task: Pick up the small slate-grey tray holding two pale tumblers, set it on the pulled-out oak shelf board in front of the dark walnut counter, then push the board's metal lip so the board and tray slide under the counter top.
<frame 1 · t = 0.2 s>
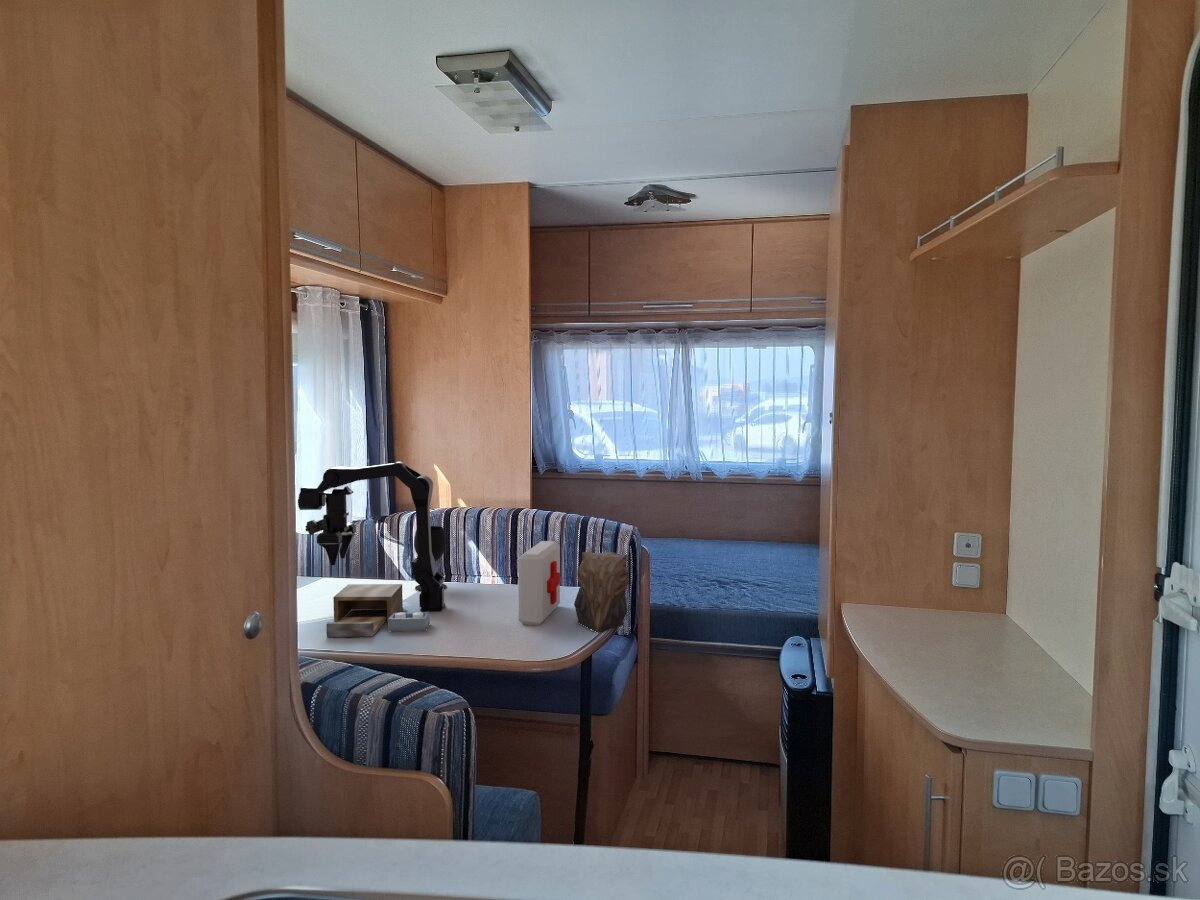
hand: (337, 561, 224), 14 cm above the table, tool pointing down, fingers open, 9 cm apart
owl: (599, 626, 210), on the table
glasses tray: (409, 628, 207), on the table
counter: (369, 615, 219), on the table
shelf board: (357, 621, 206), point 2 cm above the table, slide at 11.0 cm
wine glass: (430, 588, 250), on the table
first aid kit: (542, 615, 220), on the table
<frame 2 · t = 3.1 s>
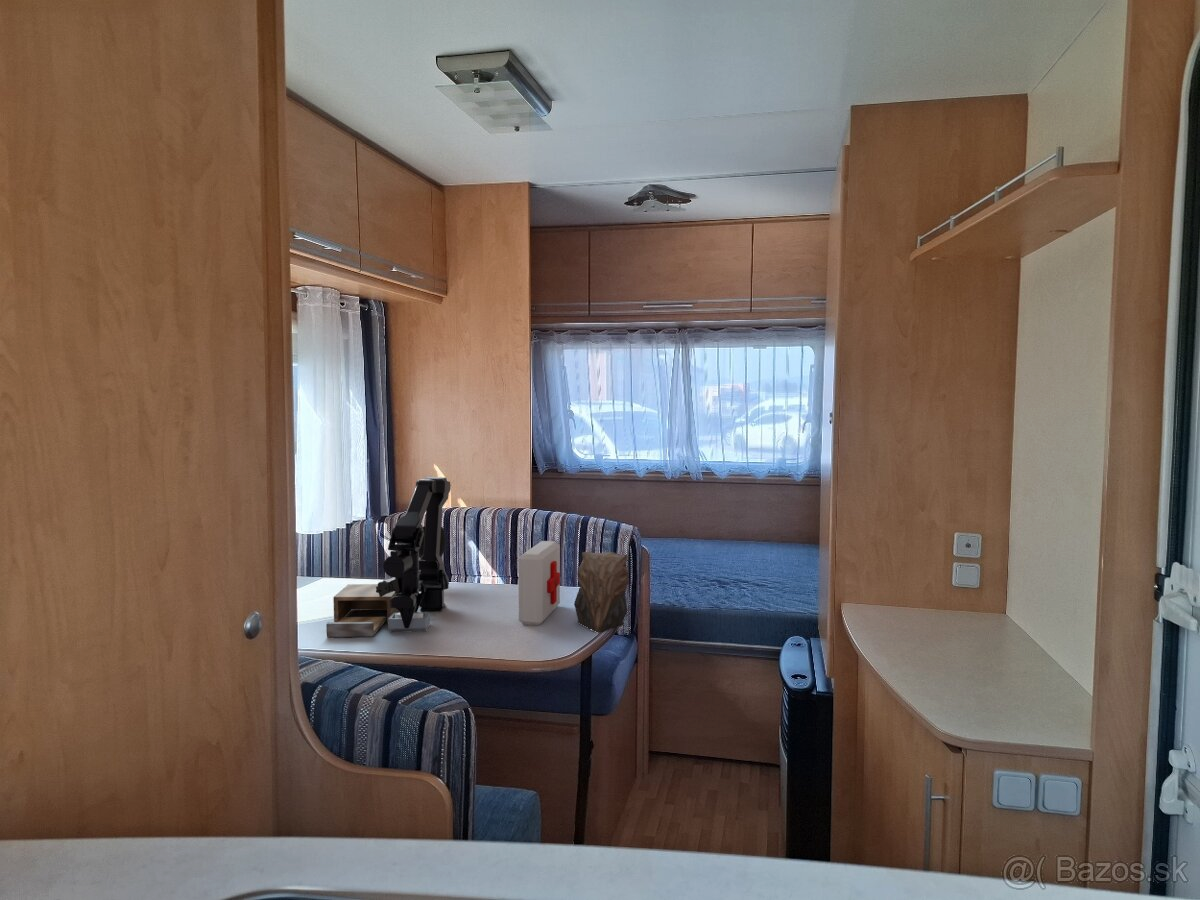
hand: (409, 624, 207), 1 cm above the table, tool pointing down, fingers closed on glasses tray, 6 cm apart
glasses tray: (409, 628, 207), on the table, touching gripper
everything else where it was.
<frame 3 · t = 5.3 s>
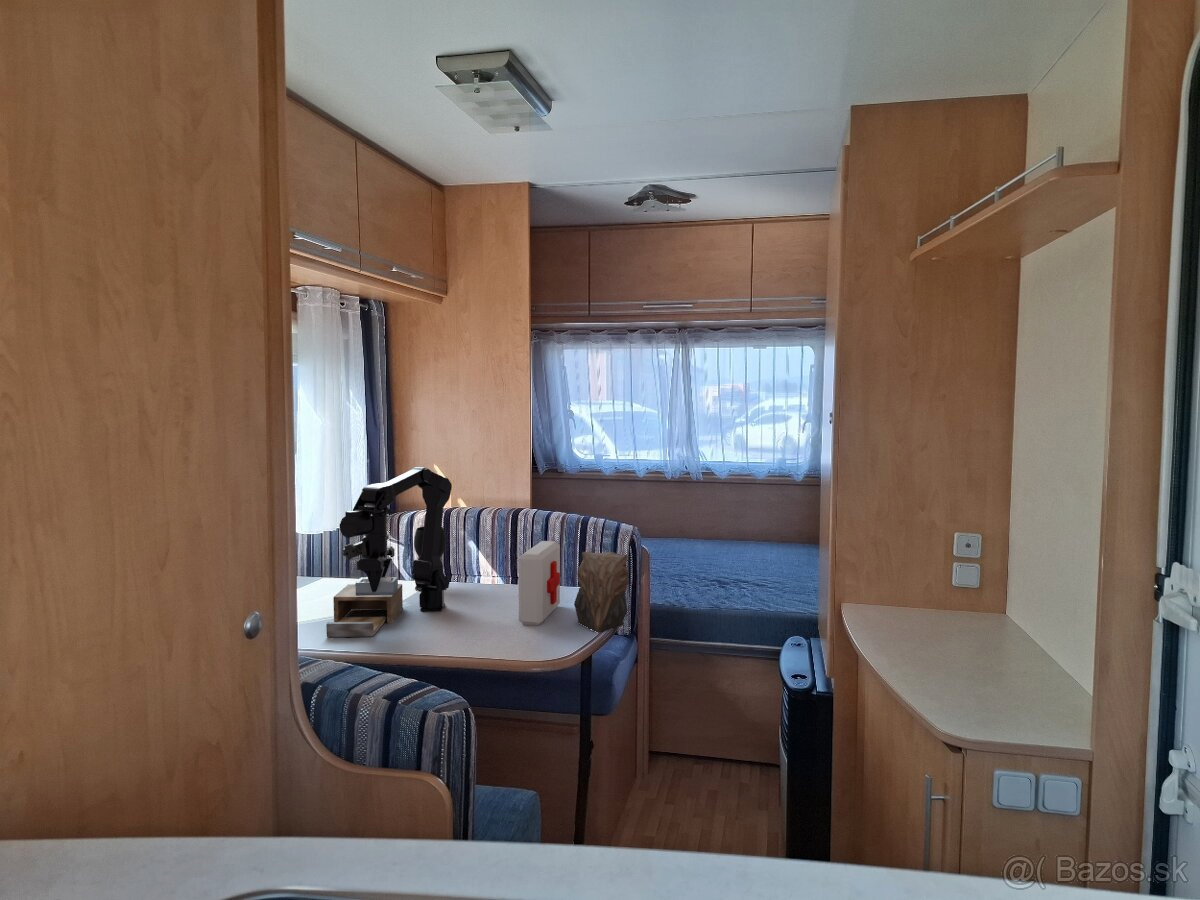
hand: (376, 588, 205), 11 cm above the table, tool pointing down, fingers closed on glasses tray, 6 cm apart
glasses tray: (377, 592, 205), point 10 cm above the table, touching gripper
everything else where it was.
when the fingers open (4 cm above the table, at t = 7.5 s): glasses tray drops 1 cm, resting on shelf board.
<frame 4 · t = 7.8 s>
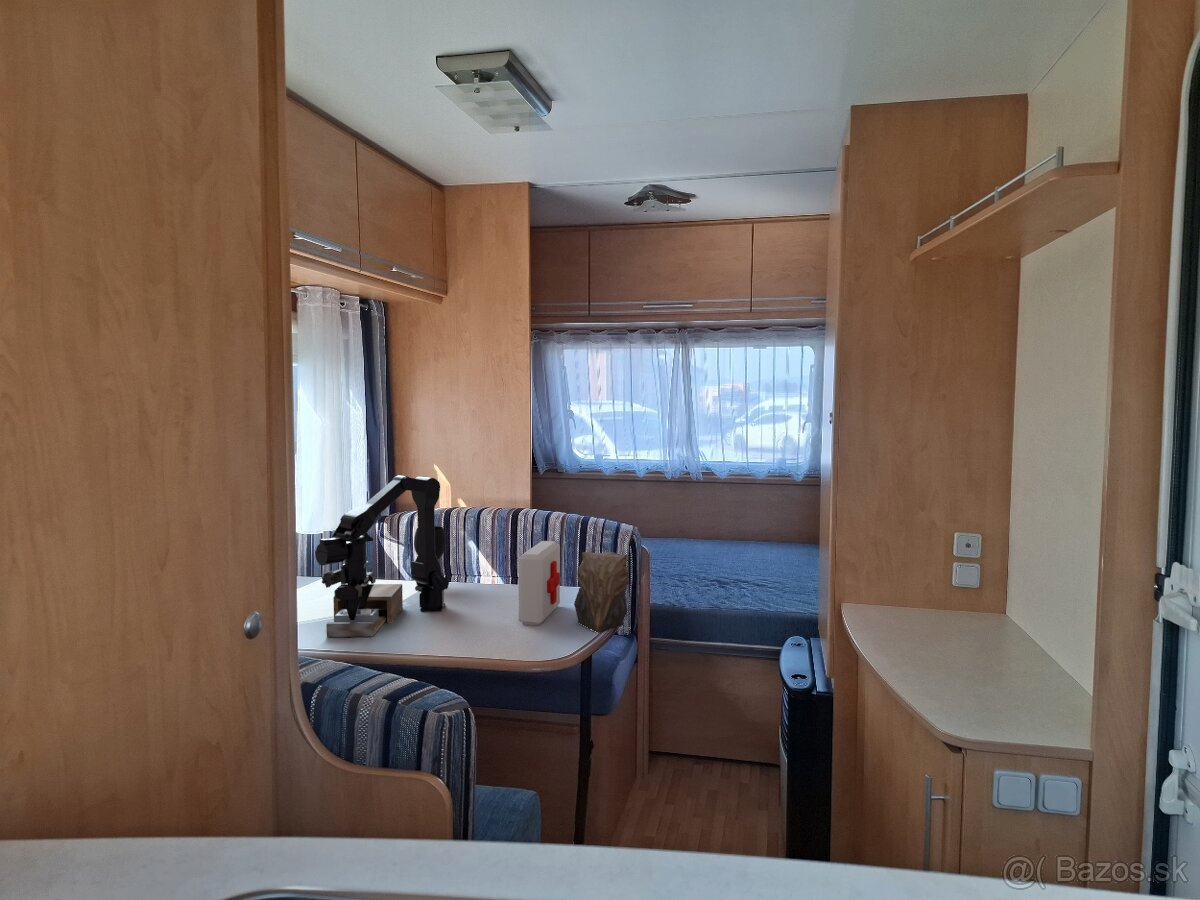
hand: (356, 615, 205), 4 cm above the table, tool pointing down, fingers open, 8 cm apart
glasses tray: (357, 624, 206), point 1 cm above the table, touching shelf board
shelf board: (357, 621, 206), point 2 cm above the table, slide at 11.0 cm, touching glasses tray
everything else where it was.
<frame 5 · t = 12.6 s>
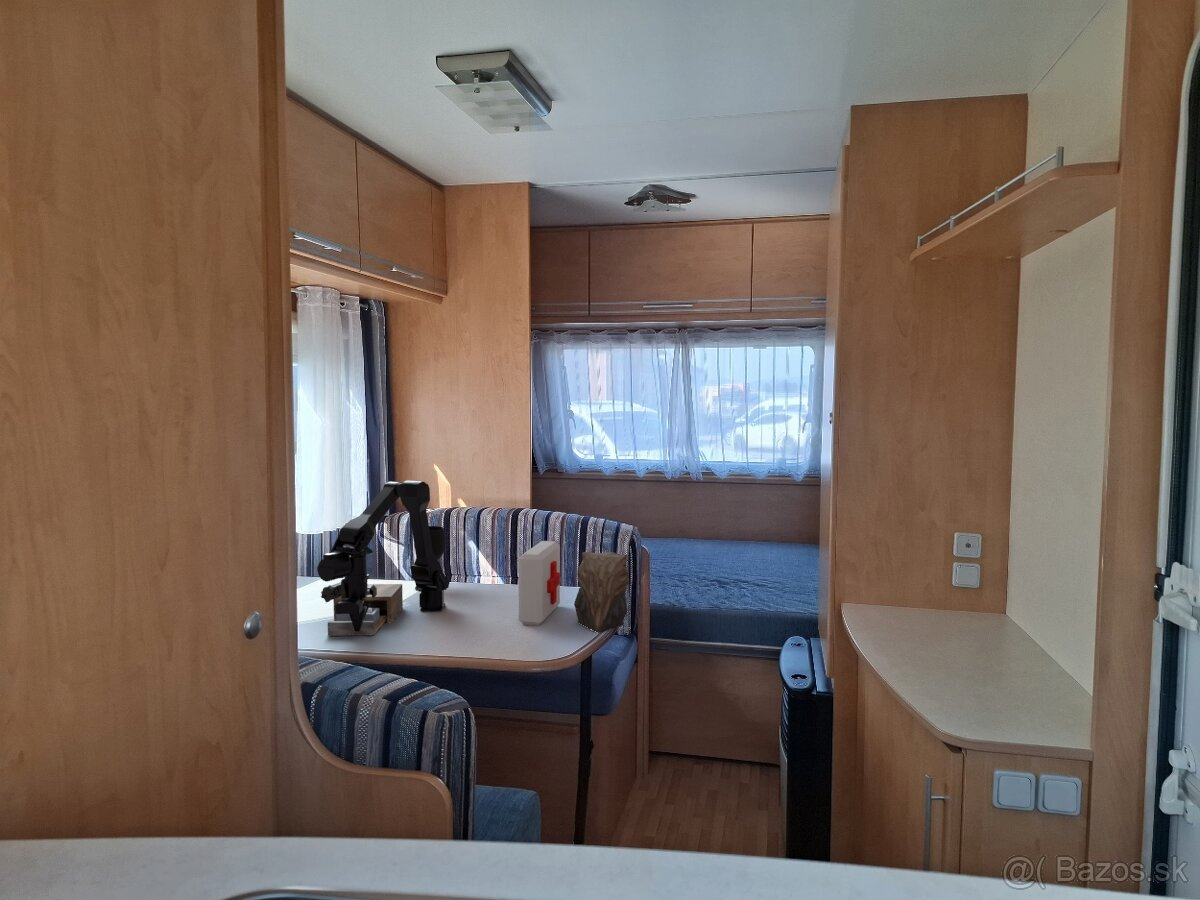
hand: (357, 631, 199), 2 cm above the table, tool pointing down, fingers closed
shelf board: (358, 620, 207), point 2 cm above the table, slide at 10.0 cm, touching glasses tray, gripper
everything else where it was.
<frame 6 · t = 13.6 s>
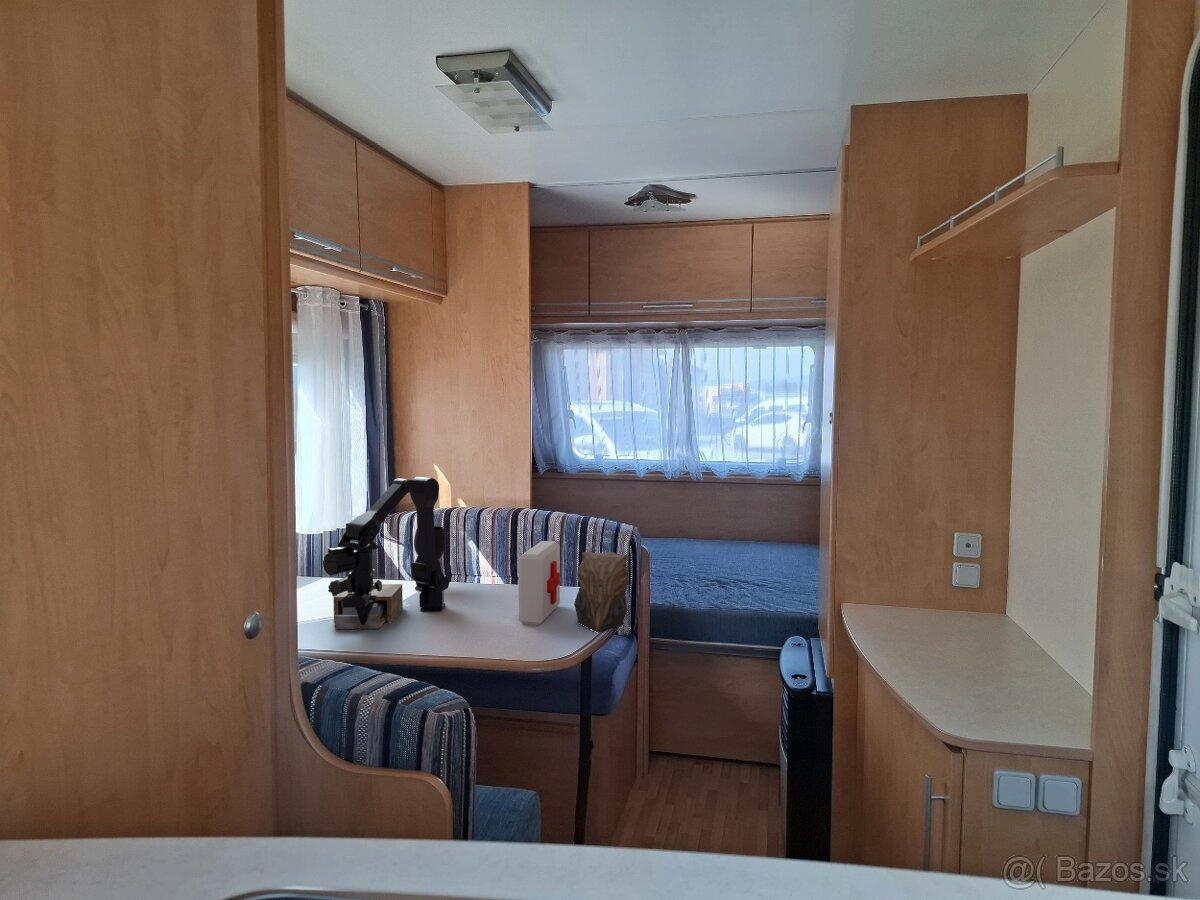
hand: (363, 624, 205), 2 cm above the table, tool pointing down, fingers closed
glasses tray: (364, 617, 213), point 1 cm above the table, touching shelf board
shelf board: (363, 614, 213), point 2 cm above the table, slide at 4.2 cm, touching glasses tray, gripper
everything else where it was.
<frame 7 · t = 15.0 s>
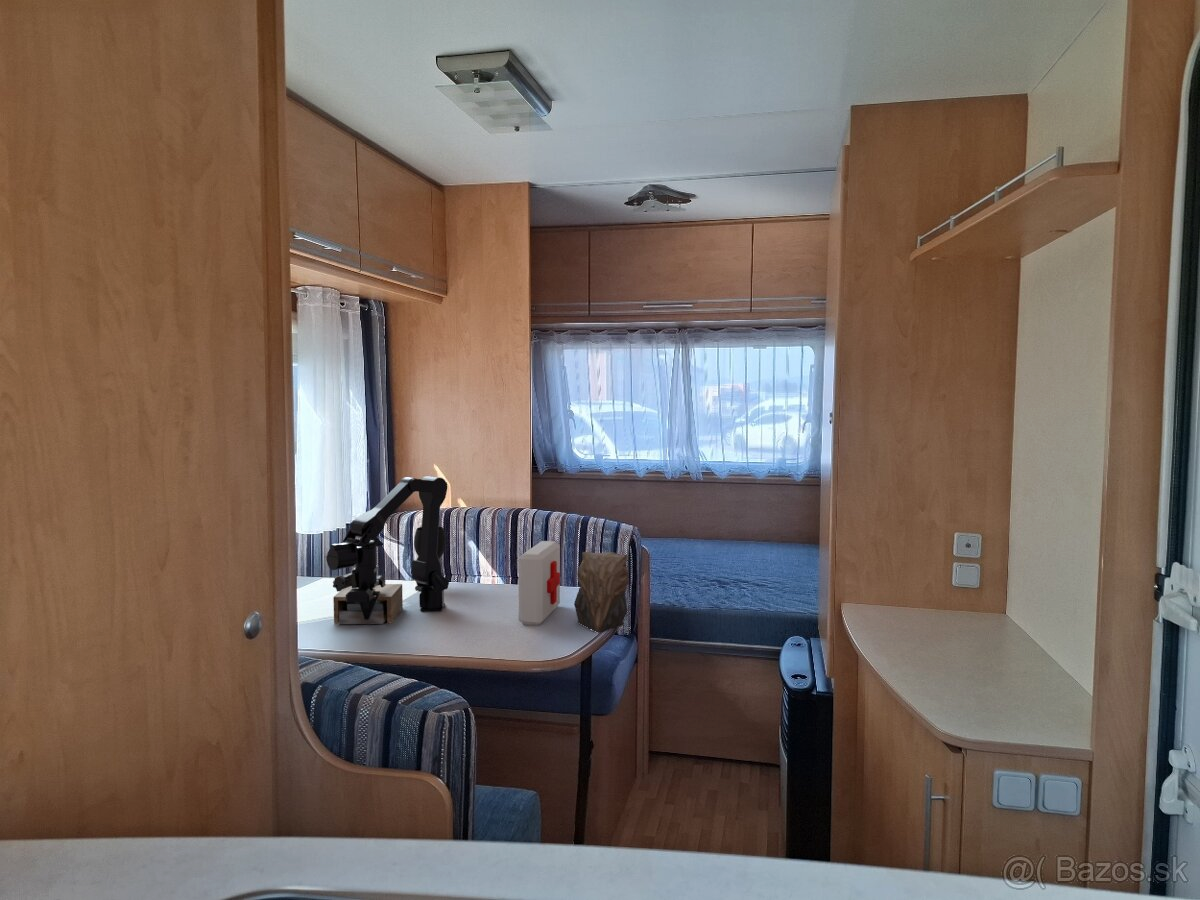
hand: (366, 619, 209), 2 cm above the table, tool pointing down, fingers closed
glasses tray: (367, 613, 217), point 1 cm above the table, touching shelf board
shelf board: (367, 610, 217), point 2 cm above the table, slide at 0.2 cm, touching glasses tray
everything else where it was.
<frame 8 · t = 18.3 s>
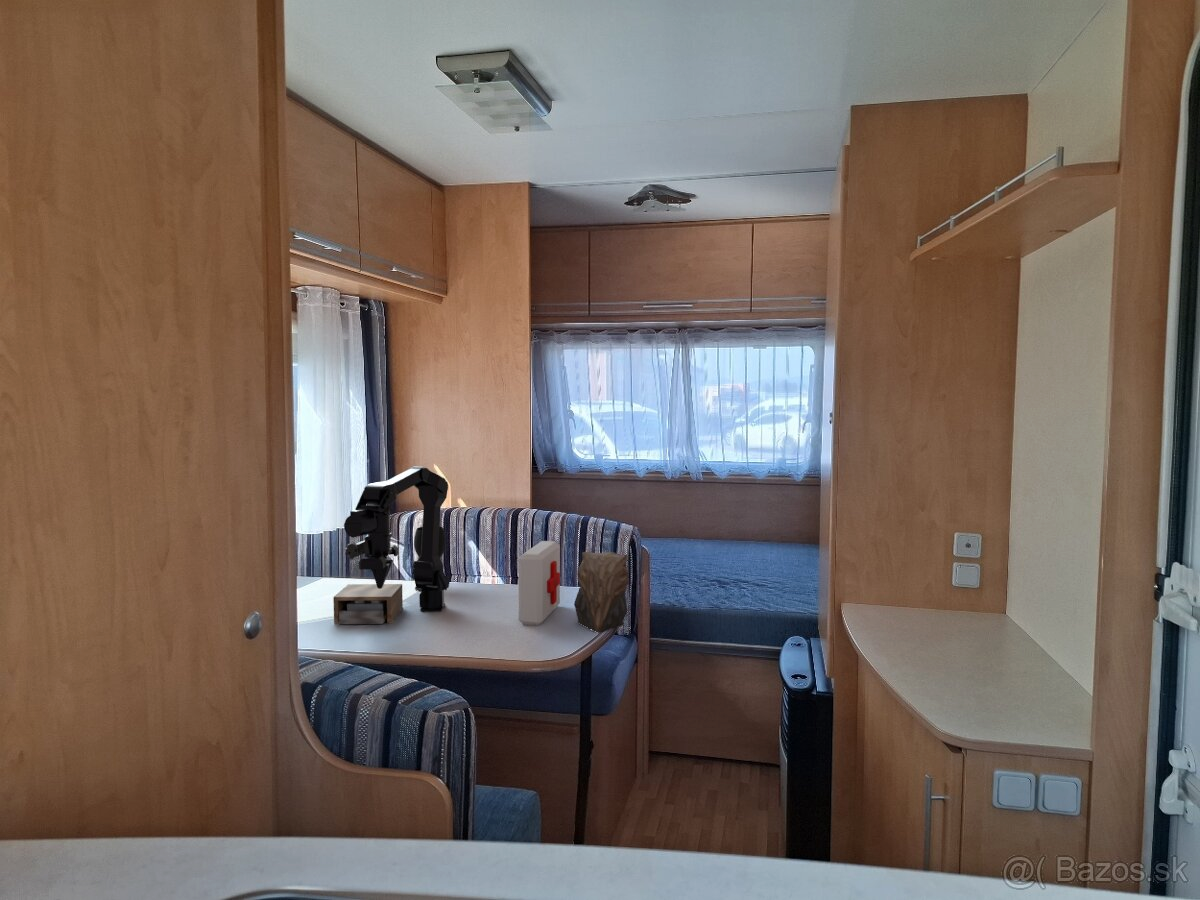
hand: (380, 588, 203), 12 cm above the table, tool pointing down, fingers closed
nothing on the table moved.
at the end: shelf board slide at 0.2 cm; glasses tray inside the target area (0.7 cm from its centre), point 1.3 cm above the table; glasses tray tilted 0° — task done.
